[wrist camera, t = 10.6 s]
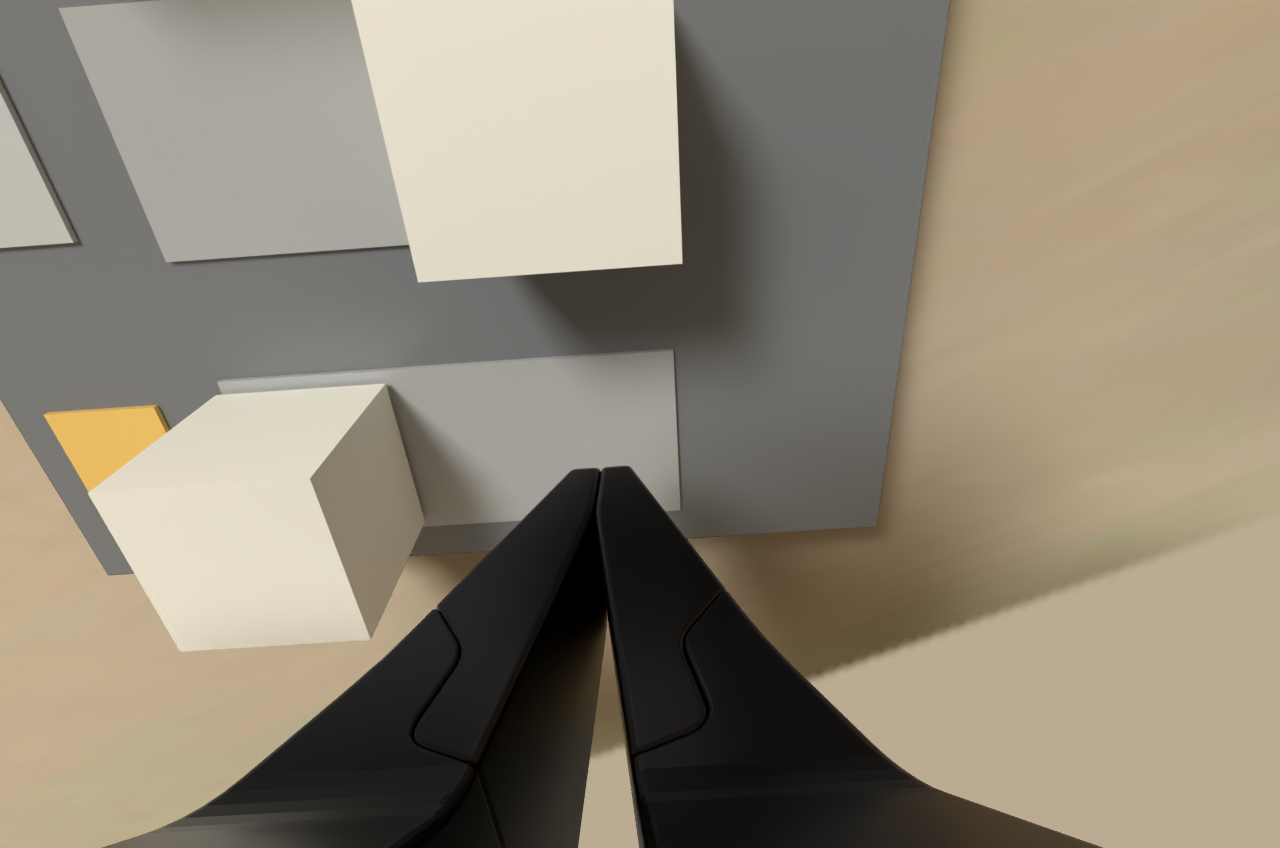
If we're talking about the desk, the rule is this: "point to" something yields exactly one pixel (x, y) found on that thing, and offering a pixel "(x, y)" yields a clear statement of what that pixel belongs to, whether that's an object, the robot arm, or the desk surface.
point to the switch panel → (467, 308)
